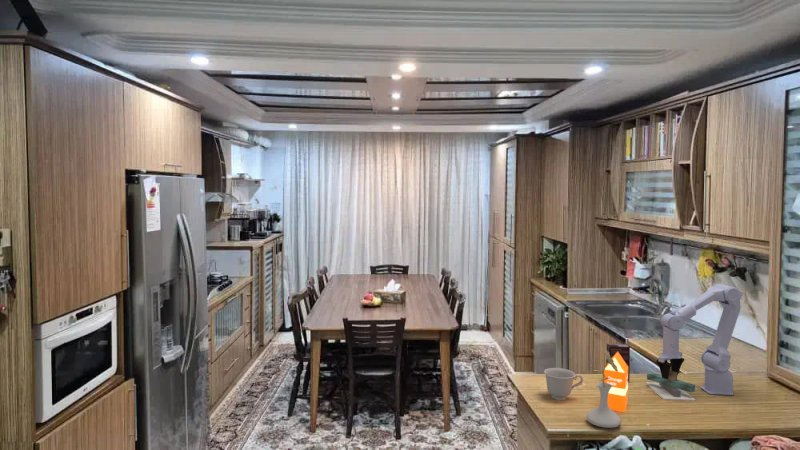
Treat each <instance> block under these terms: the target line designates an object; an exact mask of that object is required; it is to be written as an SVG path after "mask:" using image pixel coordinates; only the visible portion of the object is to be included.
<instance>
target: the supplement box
mask: <svg viewBox="0 0 800 450" xmlns="http://www.w3.org/2000/svg"><path fill="white" fill-rule="evenodd" d="M630 348H631V346H630V345H628V344H627V343H606V351H607V353H609V354H610V357H611V359H612V357H613V356H614V355H615V354H616V353H617V352H618V353H619V354H620V356H621V357H622V359H623V360H624V362H625V363H626V365H627V366H628V384H629V383H630V377H631V376H630V374H631V373H630V372H631V369H630V365H631V364H630V362H631V360H630V358H631V356H630V354H631V351H630V350H631V349H630ZM605 358H606V357H605ZM605 360H606V364H607V362H608V359H607V358H606V359H605ZM606 364H605V365H606Z"/></svg>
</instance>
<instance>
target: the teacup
mask: <svg viewBox="0 0 800 450" xmlns="http://www.w3.org/2000/svg"><path fill="white" fill-rule="evenodd" d="M543 373H544V375H545V379H546V389H547V392H549V394H551V398H552V399H553V400H557V401H564V400H565V401H566V400H567V399H568V398H567V397H568V396H569V395H571V393H572V390H574V388H576V387H580V386H582V384H583V382H584V377H583V375H581V374H580V373H577V374H576V373H575V372H574V371H573V370H569V369H567V368H563V367H550V368H546V369H544V371H543ZM578 378H580V381H579V382H578V383H575V384H573V383H574V380H575V381H577V379H578Z"/></svg>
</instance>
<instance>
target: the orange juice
mask: <svg viewBox="0 0 800 450" xmlns="http://www.w3.org/2000/svg"><path fill="white" fill-rule="evenodd" d="M612 359H613V360H614V362H613V363H614V364H615V365H616V366H617V369H618V371H617V372H616V371H615V370H614V369H613V367H612V366H611V364H609V363H608V364H607V366H606V365H605V366H606V368H605V370H604V369H603V370H604V375H605V377H604V379H605V378H607V377H608V378H609V379H606V380H604V383H608V384H611V385H612V387H611V388H610V390H609V393H608V406H609V408H610V409H611V410H612V411H617V412H623V413H626V408H627V406H628V395H629V394H628V393H629V383H628V366H627V365H626V363H625V362H624V360H623V359H622V357H621V356H620V354H619V353H618V352H617V353H616V354H615V355H614V356H613V357H612Z"/></svg>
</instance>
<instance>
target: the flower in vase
mask: <svg viewBox="0 0 800 450" xmlns="http://www.w3.org/2000/svg"><path fill="white" fill-rule="evenodd" d="M603 353H604V355H605V358H607V359H608V362H607V364H608V363H609V364H611V366H612V367H613V369H614V370H615V371H616V372H617V371H618V369H617V366H616V365H615V364H614V363H613V362H614V360H613V359H611V357H610V354H609V353H607V350H604V352H603ZM607 364H605V365H604V367H603V370H601V373H602V379H601V381H602V382H601V381H600V382H597V383H596V386H597V388H598V389H599V393H600V403H599V405H598V406H596V407H594V408H593V409H591V410H590V411H587V413H586V416H585V417H586V419H587V421H588V423H590V424H592V425H594V426H597V427H600V428H605V429H613V428H618V427H619V426H620V425H622V420H621V417H620V416H618V414H617V413H616V412H615V411H614V410H611V409H610V408H609V406H608V393H609V390H610V388H611V387H612V385H611V384H608V383H604V380H606V379H609V378H608V377H607V378H605V379H604V377H605V375H604V370H605V368H606V366H607Z"/></svg>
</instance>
